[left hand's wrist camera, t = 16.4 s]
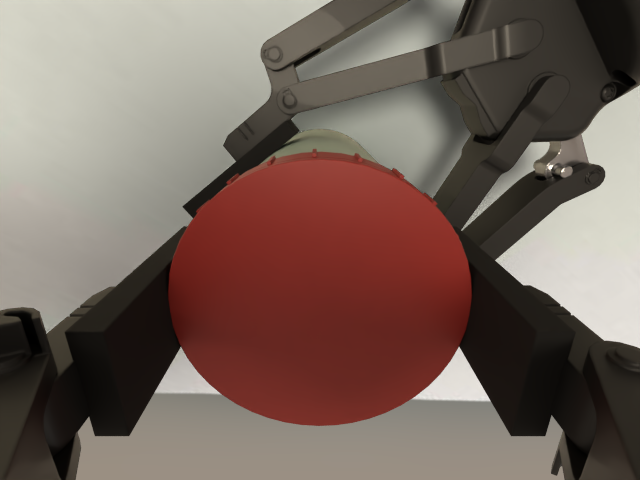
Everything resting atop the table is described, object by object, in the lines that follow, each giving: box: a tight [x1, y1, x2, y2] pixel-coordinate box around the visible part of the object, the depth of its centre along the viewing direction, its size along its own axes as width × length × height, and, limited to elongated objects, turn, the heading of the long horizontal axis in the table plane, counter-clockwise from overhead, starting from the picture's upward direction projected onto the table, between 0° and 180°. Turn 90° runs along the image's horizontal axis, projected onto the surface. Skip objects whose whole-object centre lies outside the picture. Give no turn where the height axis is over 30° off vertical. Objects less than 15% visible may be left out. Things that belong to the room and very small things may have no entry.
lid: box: [168, 149, 472, 426], centre depth 11 cm, size 9×9×2 cm
